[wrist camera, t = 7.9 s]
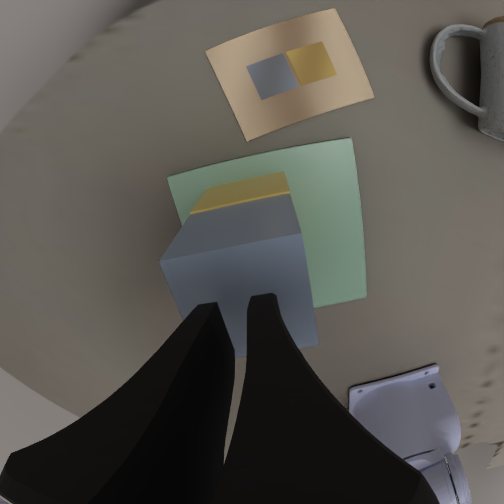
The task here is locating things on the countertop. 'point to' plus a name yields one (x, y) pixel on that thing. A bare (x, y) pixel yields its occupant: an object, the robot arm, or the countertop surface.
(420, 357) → the countertop surface
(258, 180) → the yellow brick
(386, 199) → the countertop surface
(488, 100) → the ceramic mug
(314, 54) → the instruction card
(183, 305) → the blue brick
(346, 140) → the baseplate
